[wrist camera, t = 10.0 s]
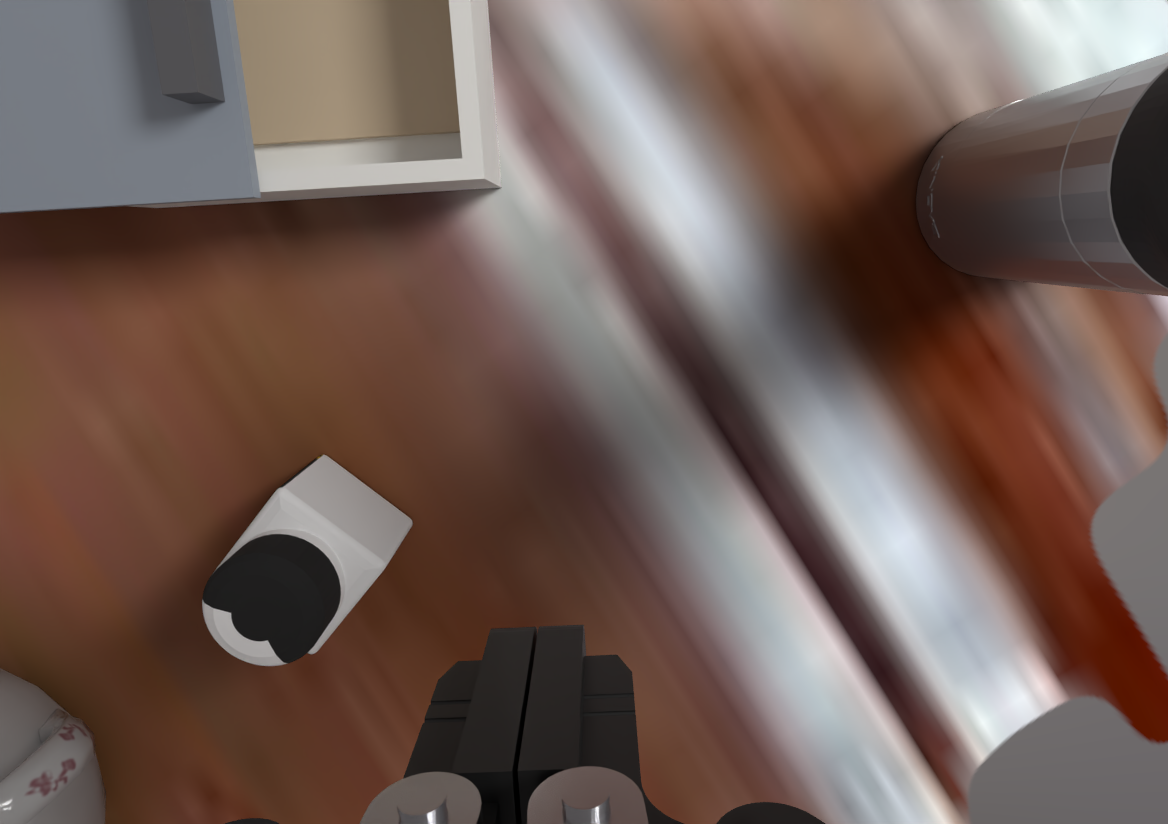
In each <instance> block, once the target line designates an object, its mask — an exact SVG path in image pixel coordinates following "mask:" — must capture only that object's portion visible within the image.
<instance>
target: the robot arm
mask: <svg viewBox="0 0 1168 824" xmlns="http://www.w3.org/2000/svg"><path fill="white" fill-rule="evenodd" d="M916 211H917V219H918V222H919V226H920V229H921V233H922V235H923V237H924V238H925V240H926V242H927V244H928V246H929V247H930V249H931V250H932V251H933V252H934V253H935V254H936V255H937V256H938V257H939V258H940V260H942V261H943V262H945V263H946V264H948V265H949V266H950V267H952V268H953V269H955V270H958V271H961V272H963V273H966V274H968V275H974V276H980V277H987V278H997V279H1006V280H1013V281H1023V282H1032V283H1042V284H1052V285H1061V286H1071V287H1081V288H1090V289H1100V290H1109V291H1119V292H1129V293H1138V294H1152V295H1162V296H1168V53H1165V54H1163V55H1160V56H1157V57H1154V58H1151V59H1147V60H1144V61H1141V62H1138V63H1135V64H1132V65H1129V66H1126V67H1123V68H1120V69H1116V70H1113V71H1110V72H1107V73H1104V74H1101V75H1098V76H1095V77H1092V78H1088V79H1085V80H1082V81H1079V82H1076V83H1073V84H1070V85H1067V86H1064V87H1061V88H1057V89H1054V90H1051V91H1048V92H1045V93H1042V94H1039V95H1036V96H1033V97H1030V98H1026V99H1023V100H1019V101H1016V102H1013V103H1010V104H1007V105H1004V106H1001V107H998V108H995V109H992V110H989V111H985V112H982V113H979V114H977V115H975V116H973V117H971V118H969V119H967V120H965V121H963V122H961V123H959V124H958V125H957V126H956V127H954V128H953V129H952V130H951V131H949V132H948V133H947V134H946V135H945V136H944V137H943V138H942V139H941V140H940V141H939V143H938V144H937V145H936V146H935V147H934V148H933V150H932V152H931V154H930V155H929V157H928V159H927V160H926V162H925V164H924V166H923V169H922V172H921V175H920V178H919V181H918V187H917V194H916ZM225 824H279V823H277V822H274V821H272V820H268V819H261V818H250V819H241V820H236V821H232V822H228V823H225ZM360 824H683V823H681V822H678V821H676V820H674V819H672V818H670V817H668V816H666V815H665V814H663V813H662V812H661V811H659V810H658V809H657V808H656V807H655V806H654V805H653V804H652V803H651V802H650V801H649V800H648V798H647V797H646V795H645V793H644V791H643V788H642V784H641V776H640V764H639V752H638V740H637V727H636V715H635V703H634V691H633V679H632V672H631V670H630V669H629V668H628V667H627V666H626V665H625V663H624V662H623V661H622V660H621V659H620V657H619V656H618V655H600V656H586V648H585V632H584V625H567V626H543V627H539V629H538V634H537V629H536V627H522V628H498V629H491V630H490V633H489V636H488V640H487V644H486V647H485V651H484V655H483V659H482V660H479V661H458V662H457V663H456V664H455V665H454V666H453V667H452V668H450V669H449V670H448V671H447V672H446V673H445V674H444V675H443V676H442V677H441V678H440V679H439V680H438V683H437V685H436V688H435V691H434V694H433V697H432V699H431V705H429V708H428V711H427V713H426V716H425V723H423V725H422V727H421V730H420V733H419V736H418V739H417V741H416V744H415V747H414V750H413V753H412V755H411V758H410V761H409V764H408V767H407V769H406V772H405V775H404V778H403V779H402V780H400V781H398V782H396V783H394V784H392V785H390V786H389V787H387V788H386V789H384V790H383V791H382V792H381V793H380V794H378V795H377V796H376V797H375V799H374V800H373V801H372V802H371V804H370V805H369V807H368V808H367V810H366V812H365V814H364V816H363V818H362V820H361V822H360ZM717 824H825V823H824V822H822V821H821V820H819V819H817V818H816V817H814V816H813V815H811V814H809V813H807V812H805V811H803V810H801V809H798V808H796V807H792V806H789V805H785V804H779V803H770V802H760V803H751V804H746V805H743V806H740V807H737V808H735V809H733V810H731V811H729V812H728V813H726V814H725V815H724V816H723V817H722V818H721V819H720V820H719V821H718V822H717Z"/></svg>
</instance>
